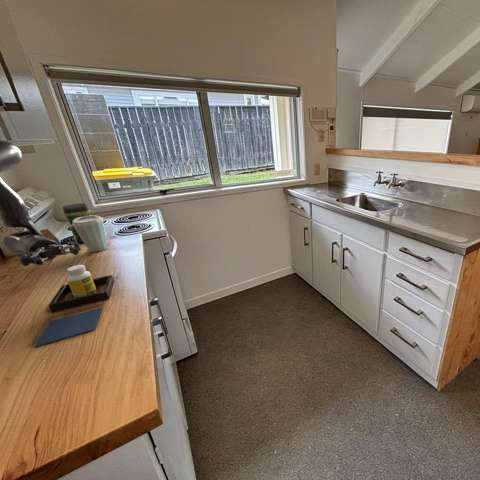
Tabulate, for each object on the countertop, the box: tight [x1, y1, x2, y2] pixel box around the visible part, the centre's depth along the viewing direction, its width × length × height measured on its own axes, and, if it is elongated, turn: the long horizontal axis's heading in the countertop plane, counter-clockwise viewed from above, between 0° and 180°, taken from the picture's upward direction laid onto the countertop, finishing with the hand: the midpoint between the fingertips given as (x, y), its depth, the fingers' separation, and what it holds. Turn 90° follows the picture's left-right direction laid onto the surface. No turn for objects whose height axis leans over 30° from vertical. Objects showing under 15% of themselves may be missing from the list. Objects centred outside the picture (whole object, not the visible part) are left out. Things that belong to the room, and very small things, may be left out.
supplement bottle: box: [66, 264, 98, 298], centre depth 79 cm, size 5×5×10 cm
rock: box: [39, 228, 63, 245], centre depth 117 cm, size 11×9×10 cm
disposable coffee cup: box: [72, 214, 108, 253], centre depth 115 cm, size 11×11×15 cm
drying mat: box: [34, 307, 103, 348], centre depth 67 cm, size 11×11×1 cm
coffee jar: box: [62, 202, 91, 244], centre depth 126 cm, size 10×8×19 cm
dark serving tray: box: [48, 274, 115, 314], centre depth 80 cm, size 13×13×2 cm
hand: (59, 256), depth 82 cm, fingers open, 8 cm apart
